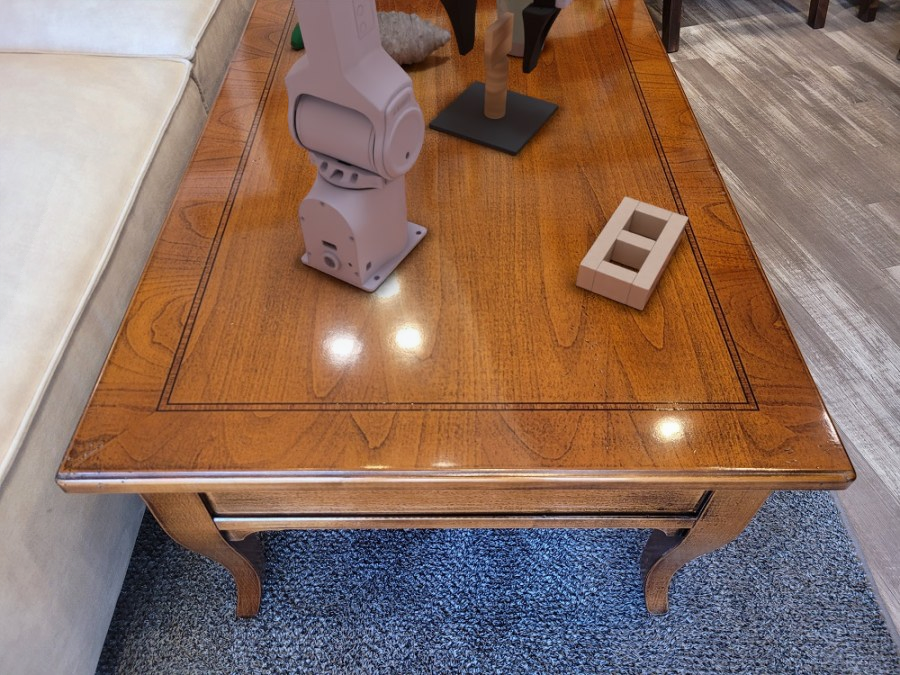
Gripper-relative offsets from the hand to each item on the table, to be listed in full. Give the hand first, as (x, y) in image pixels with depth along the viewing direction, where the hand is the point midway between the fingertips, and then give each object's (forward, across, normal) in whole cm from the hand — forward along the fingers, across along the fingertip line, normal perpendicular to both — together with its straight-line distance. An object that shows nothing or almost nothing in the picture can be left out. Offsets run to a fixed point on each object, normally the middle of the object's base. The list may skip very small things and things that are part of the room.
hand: (497, 60), depth 73 cm
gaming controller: (+7, +27, -5) cm, 28 cm away
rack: (+7, -22, +15) cm, 28 cm away
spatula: (+6, 0, 0) cm, 6 cm away
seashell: (+7, +17, -5) cm, 19 cm away
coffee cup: (+7, +5, -17) cm, 19 cm away
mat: (+7, 0, 0) cm, 7 cm away
